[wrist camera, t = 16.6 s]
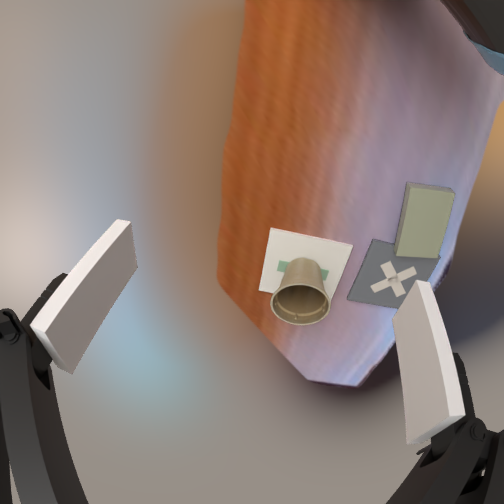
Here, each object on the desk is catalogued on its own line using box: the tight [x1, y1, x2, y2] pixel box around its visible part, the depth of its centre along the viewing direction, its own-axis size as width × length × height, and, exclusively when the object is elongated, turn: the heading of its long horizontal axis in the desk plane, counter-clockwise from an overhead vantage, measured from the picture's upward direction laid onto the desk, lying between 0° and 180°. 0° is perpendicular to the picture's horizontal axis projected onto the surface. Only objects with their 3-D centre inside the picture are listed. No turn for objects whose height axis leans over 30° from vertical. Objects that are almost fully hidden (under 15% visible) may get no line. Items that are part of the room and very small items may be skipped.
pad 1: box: [259, 228, 353, 302], centre depth 53 cm, size 14×14×1 cm
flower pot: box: [270, 258, 331, 325], centre depth 49 cm, size 9×9×9 cm
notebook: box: [394, 183, 455, 258], centre depth 42 cm, size 12×8×2 cm, turn 3°
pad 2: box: [347, 239, 441, 309], centre depth 50 cm, size 14×14×1 cm
